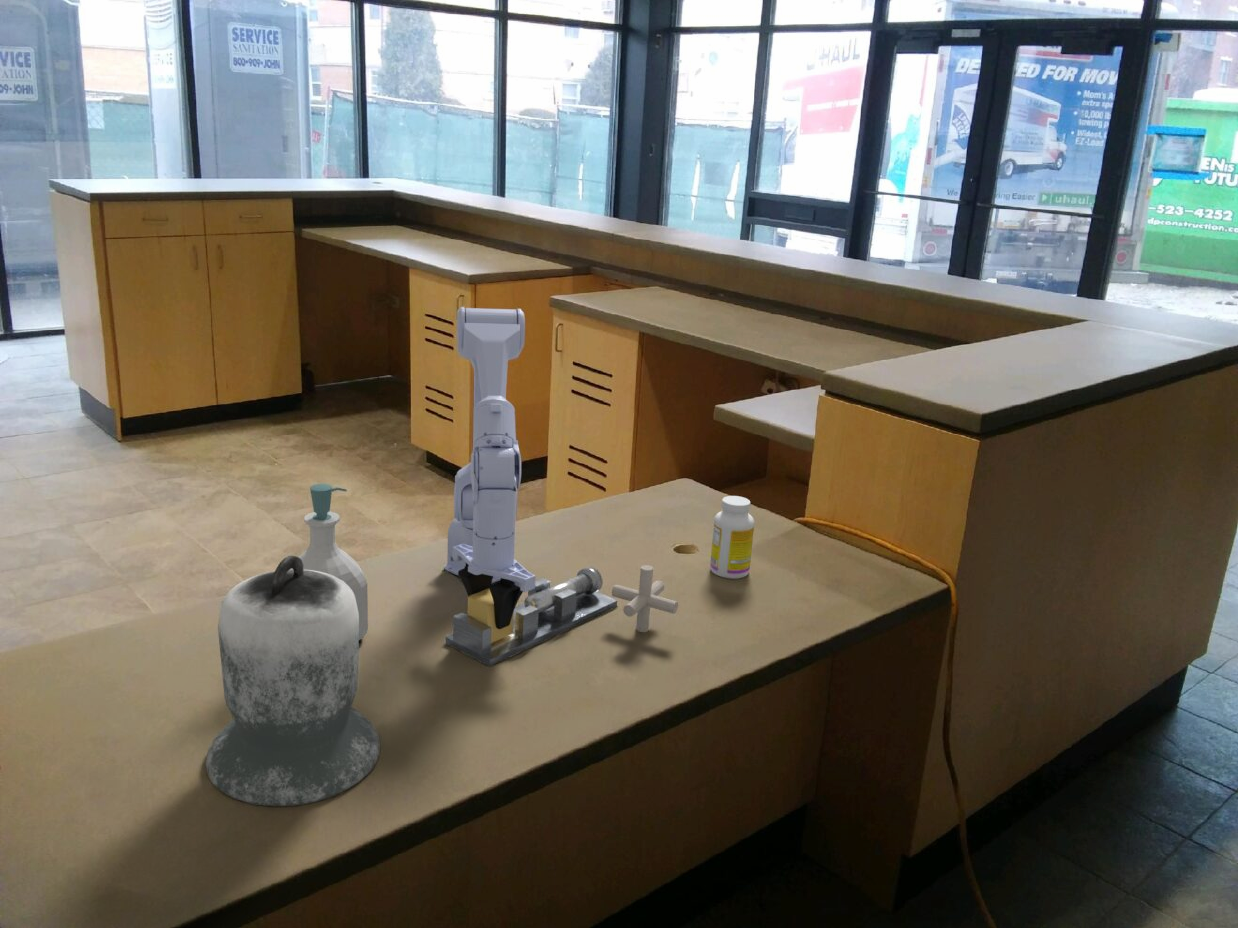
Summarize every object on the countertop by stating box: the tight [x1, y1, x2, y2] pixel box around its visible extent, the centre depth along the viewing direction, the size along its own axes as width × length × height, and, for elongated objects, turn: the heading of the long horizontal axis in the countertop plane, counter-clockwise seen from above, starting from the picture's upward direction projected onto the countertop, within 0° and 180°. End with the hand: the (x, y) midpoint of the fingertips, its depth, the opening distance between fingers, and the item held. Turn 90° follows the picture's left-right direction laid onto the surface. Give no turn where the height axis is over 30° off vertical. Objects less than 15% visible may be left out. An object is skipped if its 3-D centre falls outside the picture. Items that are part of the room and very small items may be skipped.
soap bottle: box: [290, 483, 369, 641], centre depth 147 cm, size 10×10×23 cm
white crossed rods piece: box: [611, 564, 679, 633], centre depth 158 cm, size 10×10×10 cm
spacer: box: [467, 588, 514, 643], centre depth 150 cm, size 4×5×6 cm
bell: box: [205, 555, 381, 807], centre depth 120 cm, size 19×19×25 cm
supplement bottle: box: [709, 495, 755, 580], centre depth 179 cm, size 7×7×13 cm
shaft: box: [523, 566, 603, 613], centre depth 162 cm, size 4×14×4 cm, turn 140°
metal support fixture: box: [445, 576, 618, 667], centre depth 158 cm, size 9×27×5 cm, turn 140°
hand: (491, 620), depth 151 cm, fingers closed on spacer, 4 cm apart
